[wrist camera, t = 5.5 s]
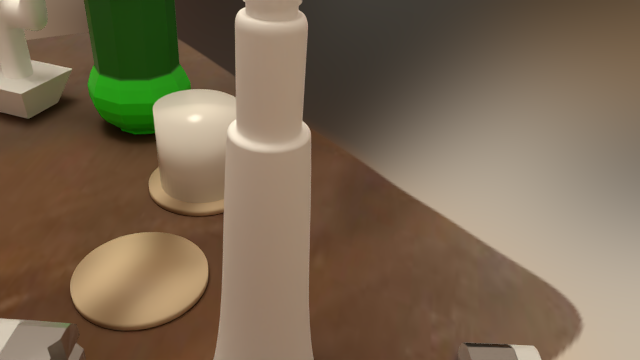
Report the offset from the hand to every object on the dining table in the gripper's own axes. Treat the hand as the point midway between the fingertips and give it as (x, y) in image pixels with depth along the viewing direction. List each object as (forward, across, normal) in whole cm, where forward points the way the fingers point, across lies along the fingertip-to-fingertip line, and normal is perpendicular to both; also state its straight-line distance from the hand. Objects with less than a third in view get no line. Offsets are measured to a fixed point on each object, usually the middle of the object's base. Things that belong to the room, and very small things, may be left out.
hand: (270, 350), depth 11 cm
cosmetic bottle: (+13, -1, -18) cm, 22 cm away
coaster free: (+20, -10, -18) cm, 28 cm away
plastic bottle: (+42, -17, -18) cm, 49 cm away
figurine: (+44, -30, -18) cm, 56 cm away
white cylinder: (+32, -8, -17) cm, 37 cm away
